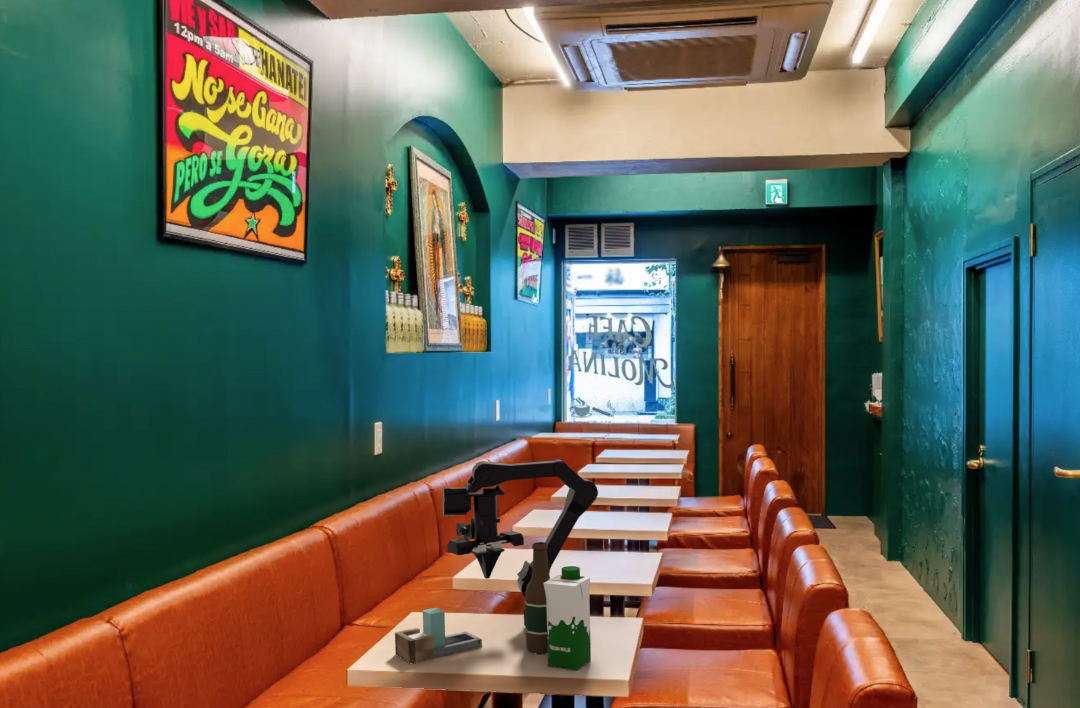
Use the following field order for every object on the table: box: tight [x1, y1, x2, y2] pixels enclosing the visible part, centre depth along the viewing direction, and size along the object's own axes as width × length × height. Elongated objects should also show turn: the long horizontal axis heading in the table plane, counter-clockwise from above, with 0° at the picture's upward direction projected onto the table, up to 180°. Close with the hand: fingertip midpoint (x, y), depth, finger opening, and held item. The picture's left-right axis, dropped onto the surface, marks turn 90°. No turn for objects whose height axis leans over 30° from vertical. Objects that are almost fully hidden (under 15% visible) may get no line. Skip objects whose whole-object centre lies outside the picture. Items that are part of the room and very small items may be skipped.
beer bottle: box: [524, 541, 551, 655], centre depth 199 cm, size 8×8×24 cm
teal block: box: [409, 607, 446, 648], centre depth 198 cm, size 8×4×9 cm, turn 124°
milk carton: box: [544, 565, 592, 671], centre depth 189 cm, size 9×9×20 cm
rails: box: [433, 631, 483, 659], centre depth 201 cm, size 12×7×2 cm, turn 124°
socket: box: [394, 627, 435, 664], centre depth 196 cm, size 6×8×5 cm
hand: (487, 578), depth 213 cm, fingers closed
